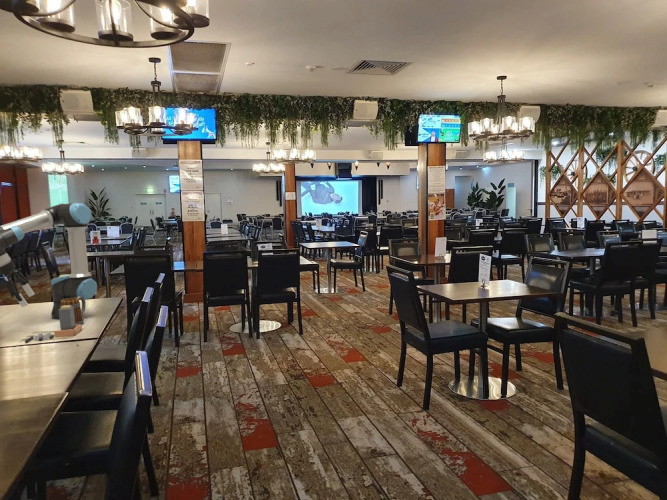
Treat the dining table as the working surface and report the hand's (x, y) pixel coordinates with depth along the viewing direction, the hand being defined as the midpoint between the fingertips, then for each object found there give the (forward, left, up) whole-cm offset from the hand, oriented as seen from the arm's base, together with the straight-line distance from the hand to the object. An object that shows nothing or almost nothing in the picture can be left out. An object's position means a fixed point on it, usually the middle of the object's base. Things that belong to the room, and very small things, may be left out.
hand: (28, 300), depth 240 cm
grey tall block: (+6, +19, -16) cm, 26 cm away
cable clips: (+13, +10, -17) cm, 23 cm away
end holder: (+6, +19, -17) cm, 26 cm away
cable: (+14, +9, -17) cm, 23 cm away
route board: (+6, +12, -18) cm, 22 cm away
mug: (-14, +16, -18) cm, 28 cm away
